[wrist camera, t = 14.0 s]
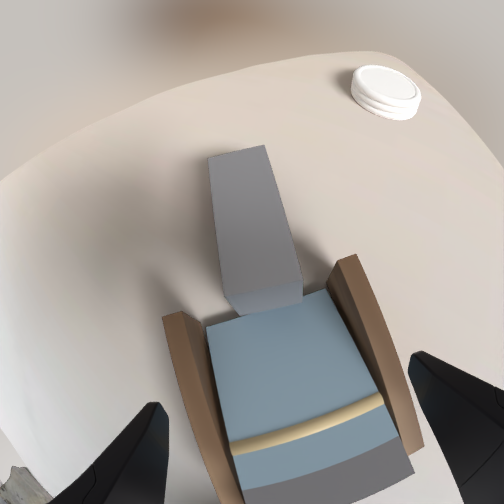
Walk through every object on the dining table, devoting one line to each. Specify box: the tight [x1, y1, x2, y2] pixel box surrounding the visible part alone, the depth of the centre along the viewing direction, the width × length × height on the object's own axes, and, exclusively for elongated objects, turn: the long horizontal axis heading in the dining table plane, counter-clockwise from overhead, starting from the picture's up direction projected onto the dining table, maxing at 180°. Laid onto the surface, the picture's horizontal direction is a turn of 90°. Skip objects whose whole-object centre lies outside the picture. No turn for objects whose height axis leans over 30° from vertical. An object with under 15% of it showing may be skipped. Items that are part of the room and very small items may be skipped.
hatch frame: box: [162, 254, 424, 504], centre depth 18 cm, size 14×16×5 cm
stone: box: [208, 145, 303, 316], centre depth 23 cm, size 5×5×12 cm
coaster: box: [351, 65, 421, 120], centre depth 31 cm, size 10×10×4 cm
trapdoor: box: [206, 289, 415, 504], centre depth 17 cm, size 10×16×3 cm, turn 17°
